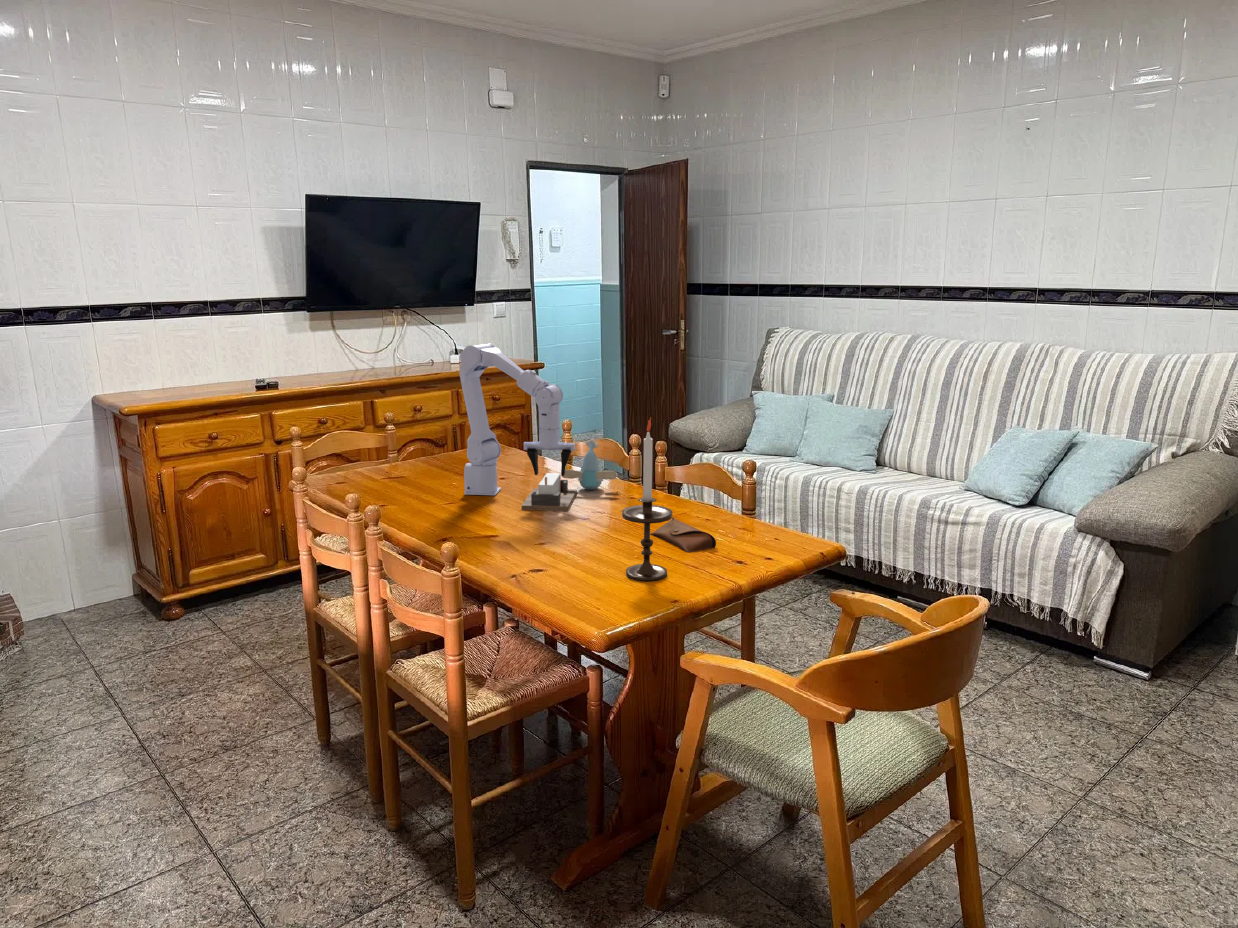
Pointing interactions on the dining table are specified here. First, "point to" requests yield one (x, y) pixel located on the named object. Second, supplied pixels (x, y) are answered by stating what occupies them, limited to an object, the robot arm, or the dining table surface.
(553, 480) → the white rectangular block
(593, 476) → the toy figure
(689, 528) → the sunglasses case
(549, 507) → the cradle jig
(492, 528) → the dining table surface
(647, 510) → the candlestick
